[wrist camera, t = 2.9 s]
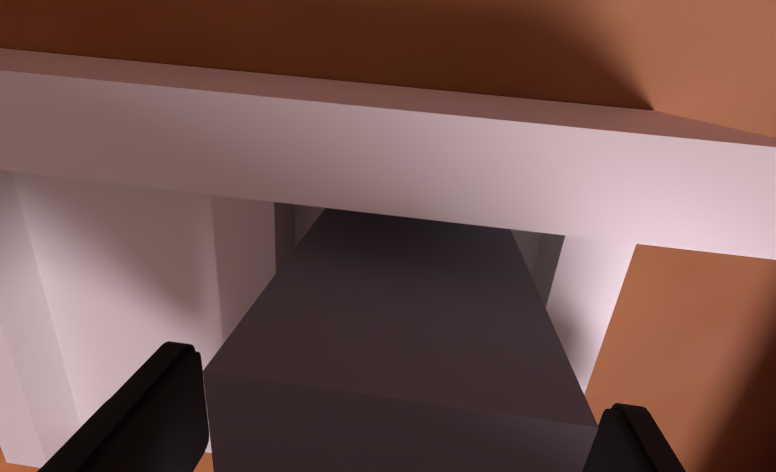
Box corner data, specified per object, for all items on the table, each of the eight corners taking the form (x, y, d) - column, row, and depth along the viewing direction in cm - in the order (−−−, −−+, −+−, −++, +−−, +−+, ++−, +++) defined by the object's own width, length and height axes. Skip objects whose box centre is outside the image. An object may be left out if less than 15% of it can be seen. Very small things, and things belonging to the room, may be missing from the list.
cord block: (340, 185, 11) (195, 373, 4) (500, 202, 11) (606, 432, 4) (329, 440, 14) (241, 756, 8) (450, 458, 14) (462, 801, 8)
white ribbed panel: (-347, 8, 11) (-1119, -42, 6) (657, 103, 10) (966, 164, 4) (-148, 385, 17) (-452, 554, 11) (533, 489, 15) (594, 754, 9)
